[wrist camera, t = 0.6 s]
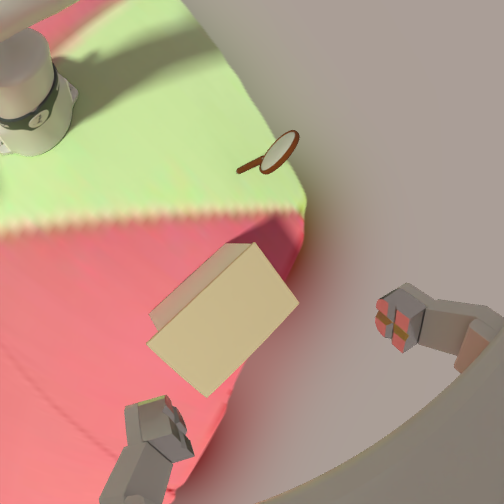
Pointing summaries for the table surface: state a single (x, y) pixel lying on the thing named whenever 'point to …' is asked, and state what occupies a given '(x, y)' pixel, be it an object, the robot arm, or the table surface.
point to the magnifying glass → (274, 154)
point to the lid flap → (225, 322)
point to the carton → (195, 283)
